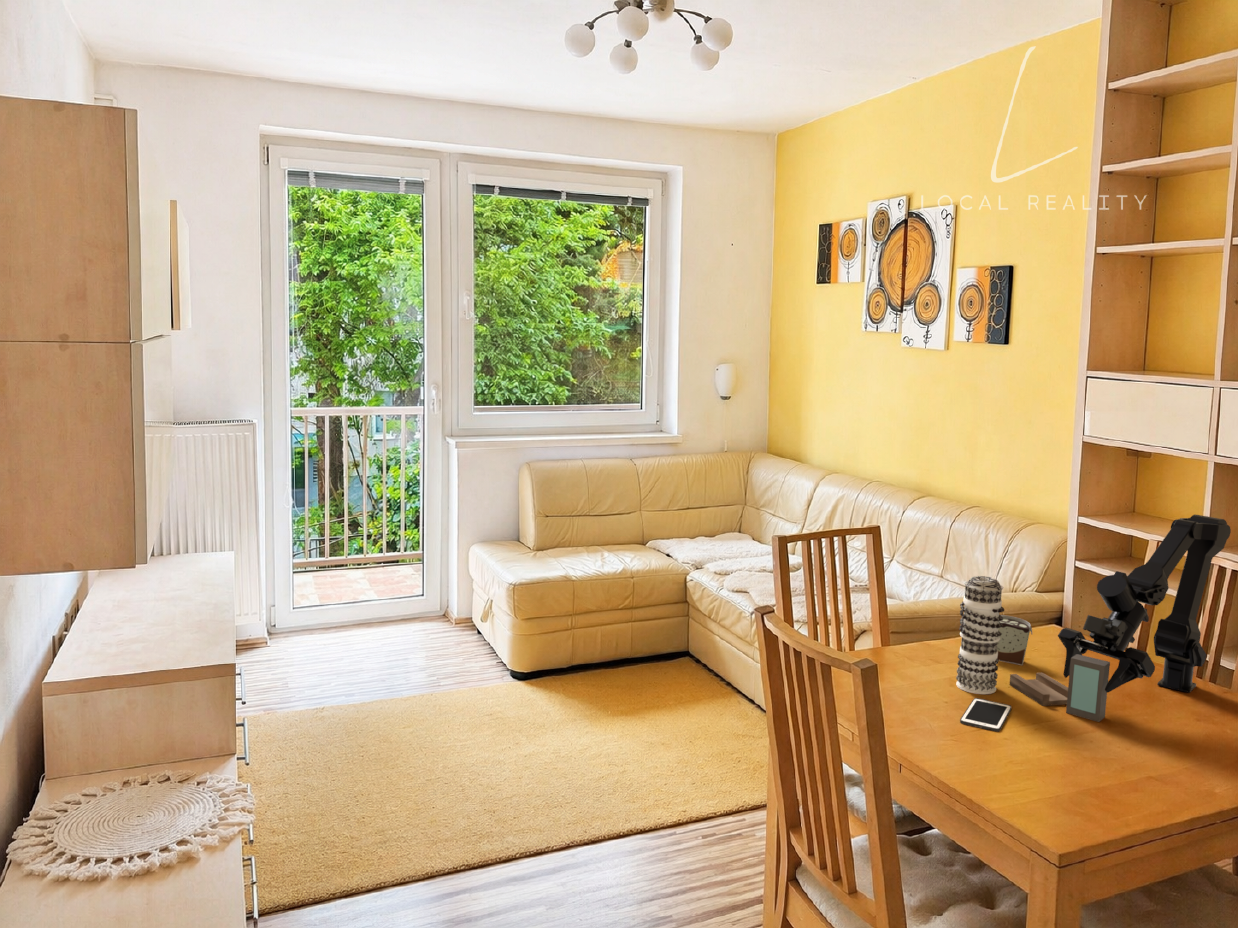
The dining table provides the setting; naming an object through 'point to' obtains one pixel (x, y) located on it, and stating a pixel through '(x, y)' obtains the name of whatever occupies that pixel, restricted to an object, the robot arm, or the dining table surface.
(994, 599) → the decorative candle
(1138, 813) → the dining table surface
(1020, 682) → the tray
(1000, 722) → the cell phone
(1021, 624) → the food container
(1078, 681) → the grey rectangular box
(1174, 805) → the dining table surface
